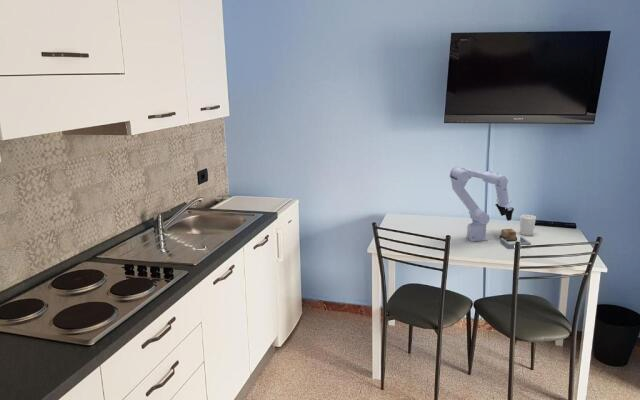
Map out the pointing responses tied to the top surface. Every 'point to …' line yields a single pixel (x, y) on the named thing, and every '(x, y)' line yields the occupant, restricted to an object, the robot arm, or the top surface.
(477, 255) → the top surface
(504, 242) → the bay
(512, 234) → the tan rounded lump
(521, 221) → the white cup
